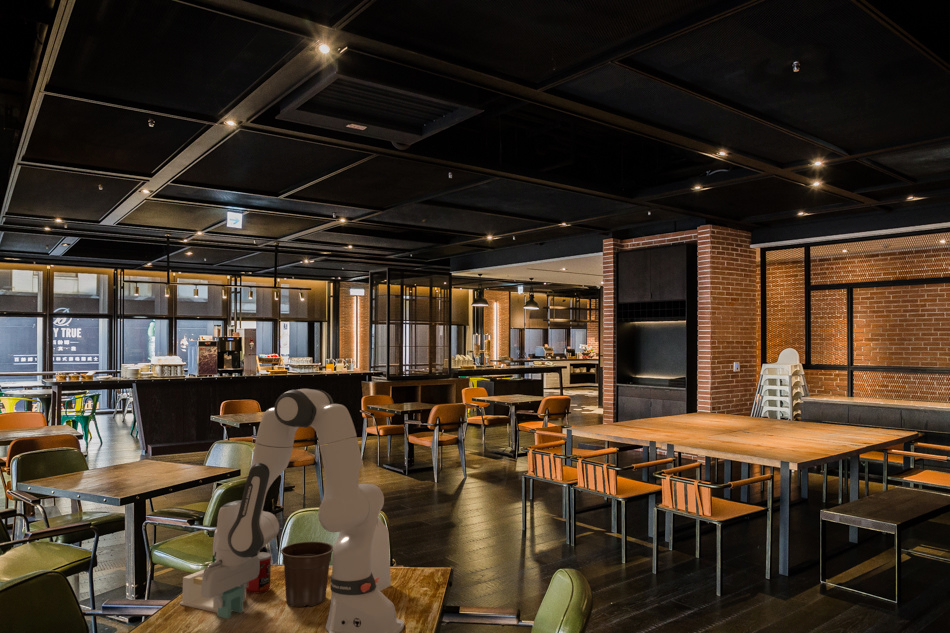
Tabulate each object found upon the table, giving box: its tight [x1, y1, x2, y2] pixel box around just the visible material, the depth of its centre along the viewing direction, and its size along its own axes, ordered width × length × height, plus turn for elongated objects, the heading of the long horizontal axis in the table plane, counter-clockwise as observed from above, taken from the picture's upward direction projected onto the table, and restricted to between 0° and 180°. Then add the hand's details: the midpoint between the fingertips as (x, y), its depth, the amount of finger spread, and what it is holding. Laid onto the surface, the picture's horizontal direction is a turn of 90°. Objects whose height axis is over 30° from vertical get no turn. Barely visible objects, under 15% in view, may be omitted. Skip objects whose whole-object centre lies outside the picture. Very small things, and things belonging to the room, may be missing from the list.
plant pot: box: [280, 541, 334, 608], centre depth 202 cm, size 16×16×16 cm
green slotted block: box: [217, 586, 244, 620], centre depth 191 cm, size 4×6×7 cm, turn 156°
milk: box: [371, 518, 392, 592], centre depth 214 cm, size 12×12×26 cm
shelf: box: [179, 568, 247, 614], centre depth 201 cm, size 16×11×8 cm
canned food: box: [246, 551, 272, 594], centre depth 212 cm, size 8×8×11 cm
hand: (230, 602), depth 191 cm, fingers open, 6 cm apart
